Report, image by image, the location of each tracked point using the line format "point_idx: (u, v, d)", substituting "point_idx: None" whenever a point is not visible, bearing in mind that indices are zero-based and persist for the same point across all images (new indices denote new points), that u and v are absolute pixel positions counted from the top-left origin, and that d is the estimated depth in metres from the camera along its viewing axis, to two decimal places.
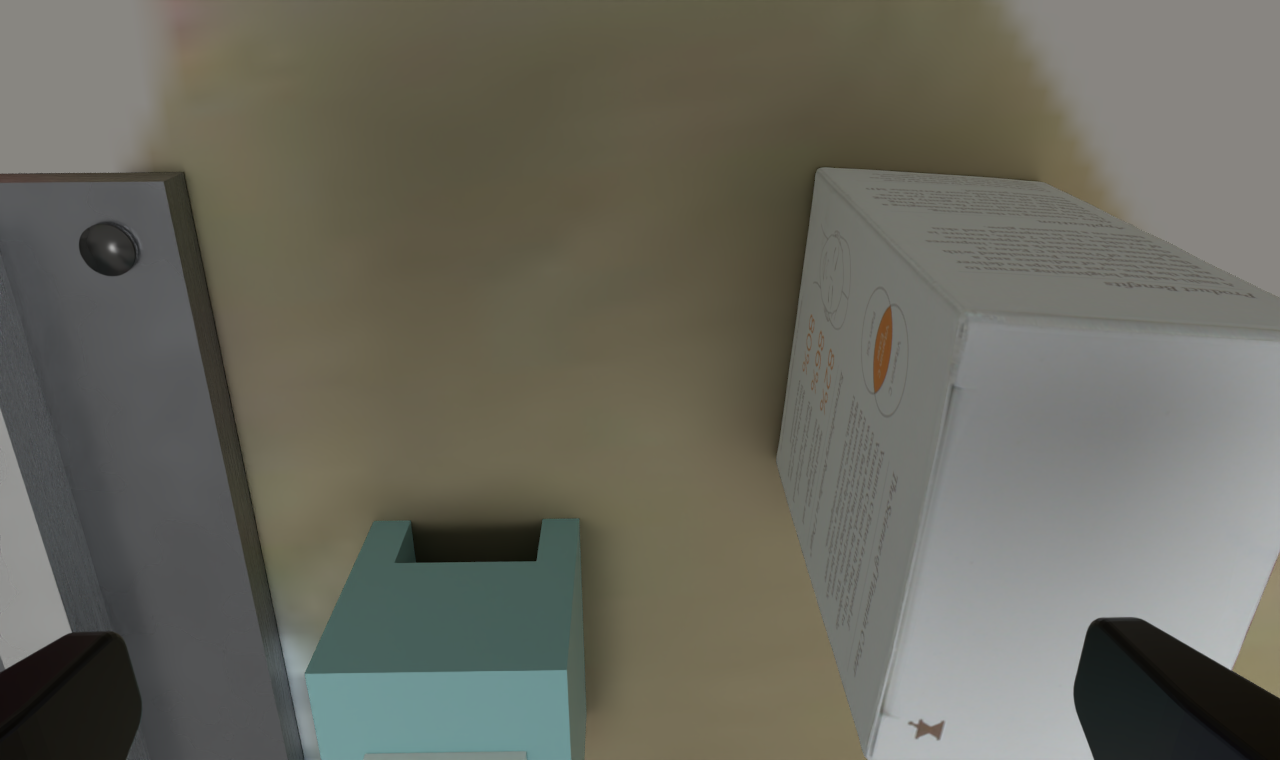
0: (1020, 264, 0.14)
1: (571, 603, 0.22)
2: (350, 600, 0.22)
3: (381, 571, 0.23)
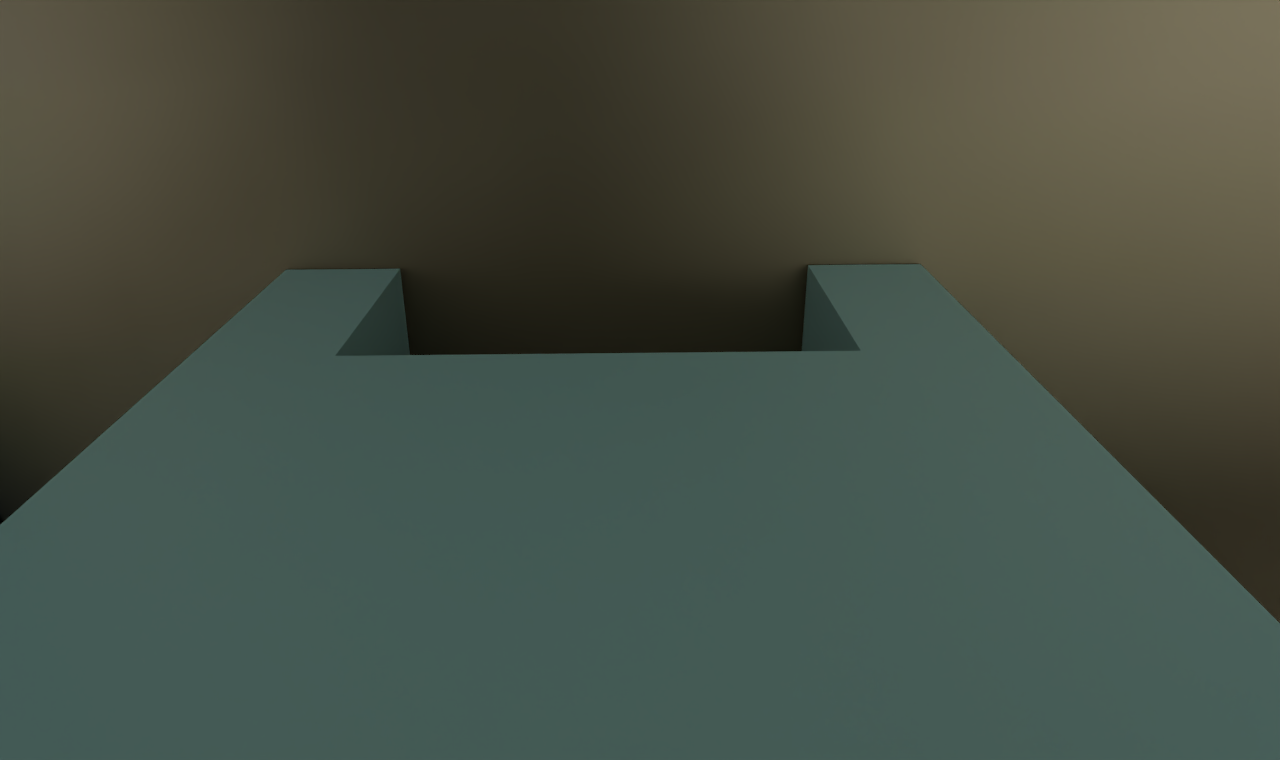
0: None
1: (1125, 476, 0.05)
2: (123, 465, 0.05)
3: (283, 377, 0.06)
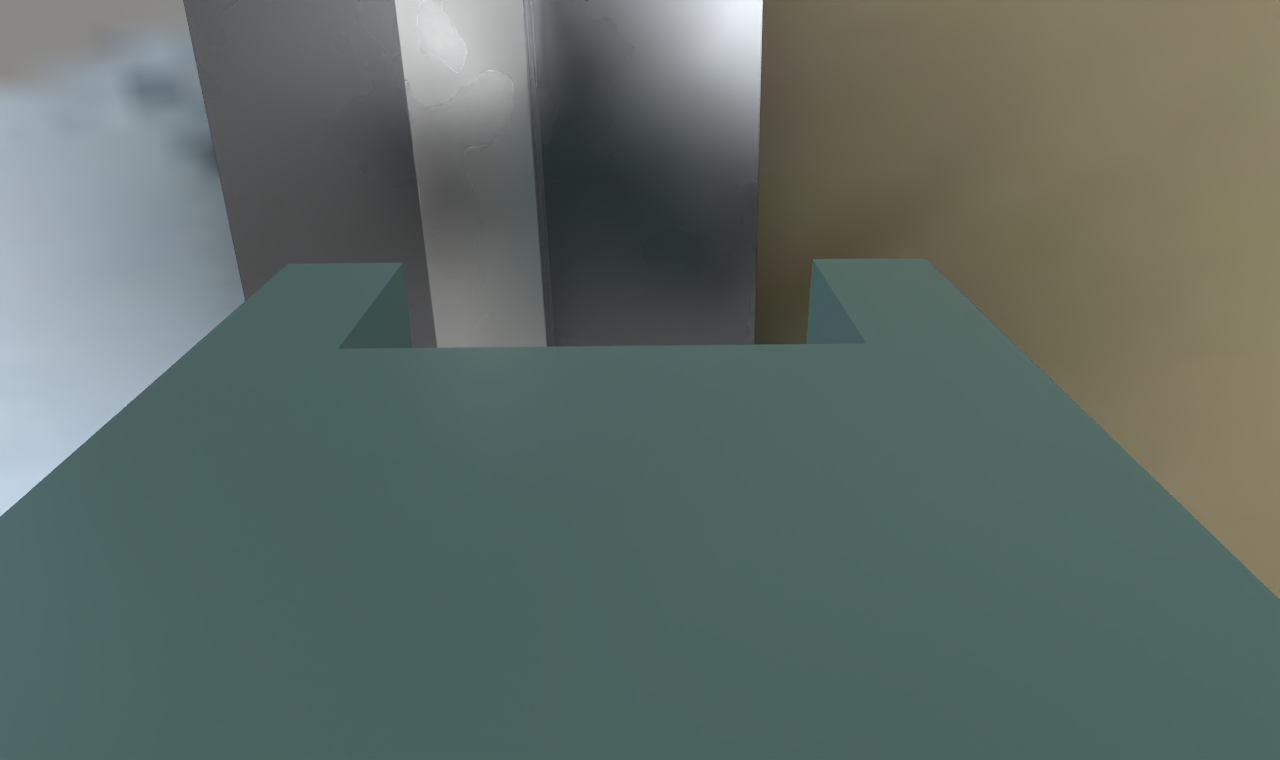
0: None
1: (1135, 467, 0.05)
2: (125, 456, 0.05)
3: (286, 369, 0.06)
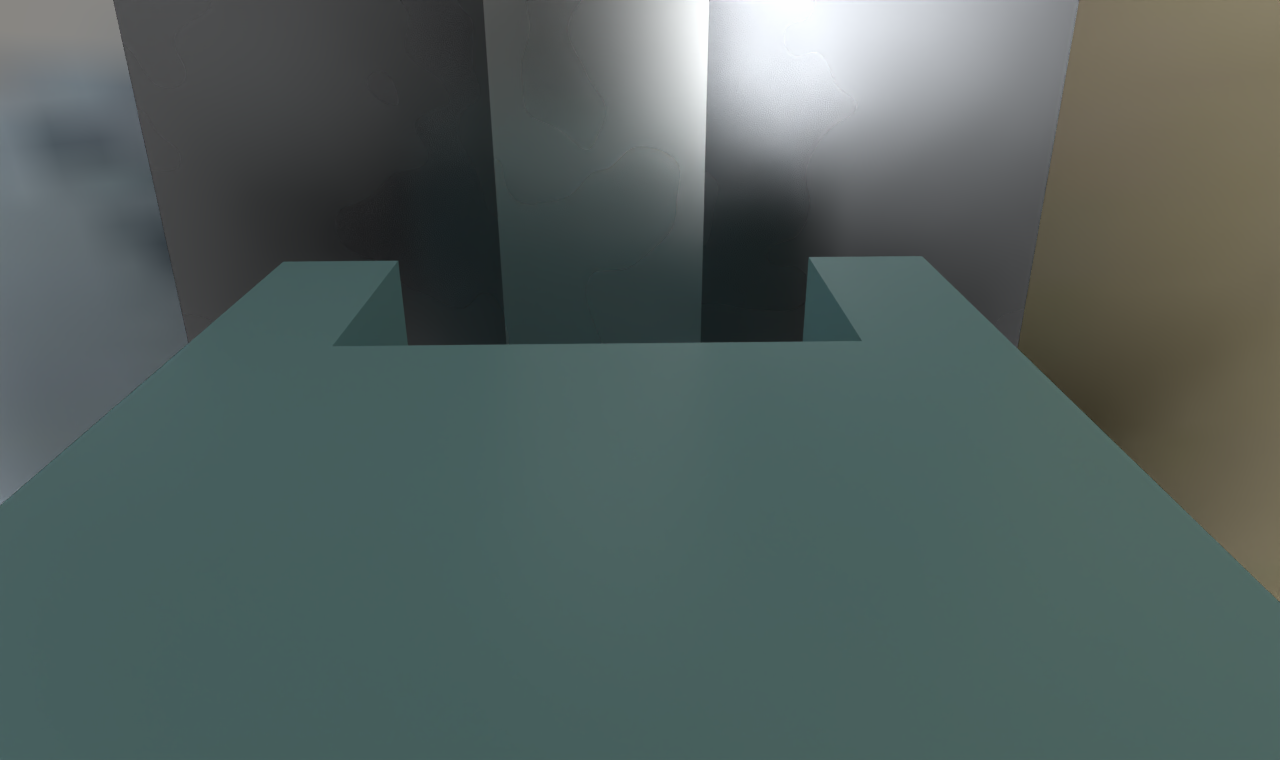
0: None
1: (1130, 464, 0.05)
2: (116, 454, 0.05)
3: (279, 367, 0.06)
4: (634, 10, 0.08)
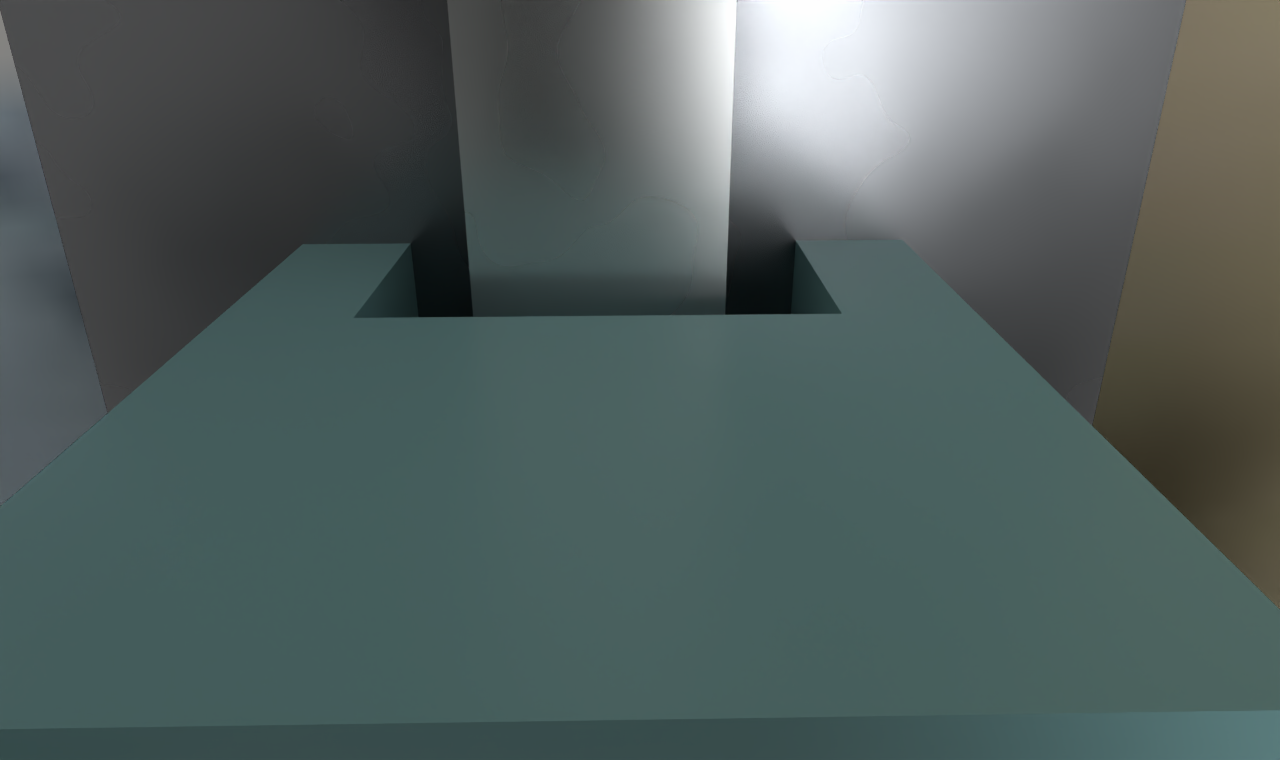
0: None
1: (1077, 417, 0.05)
2: (165, 408, 0.05)
3: (306, 335, 0.06)
4: (641, 27, 0.06)
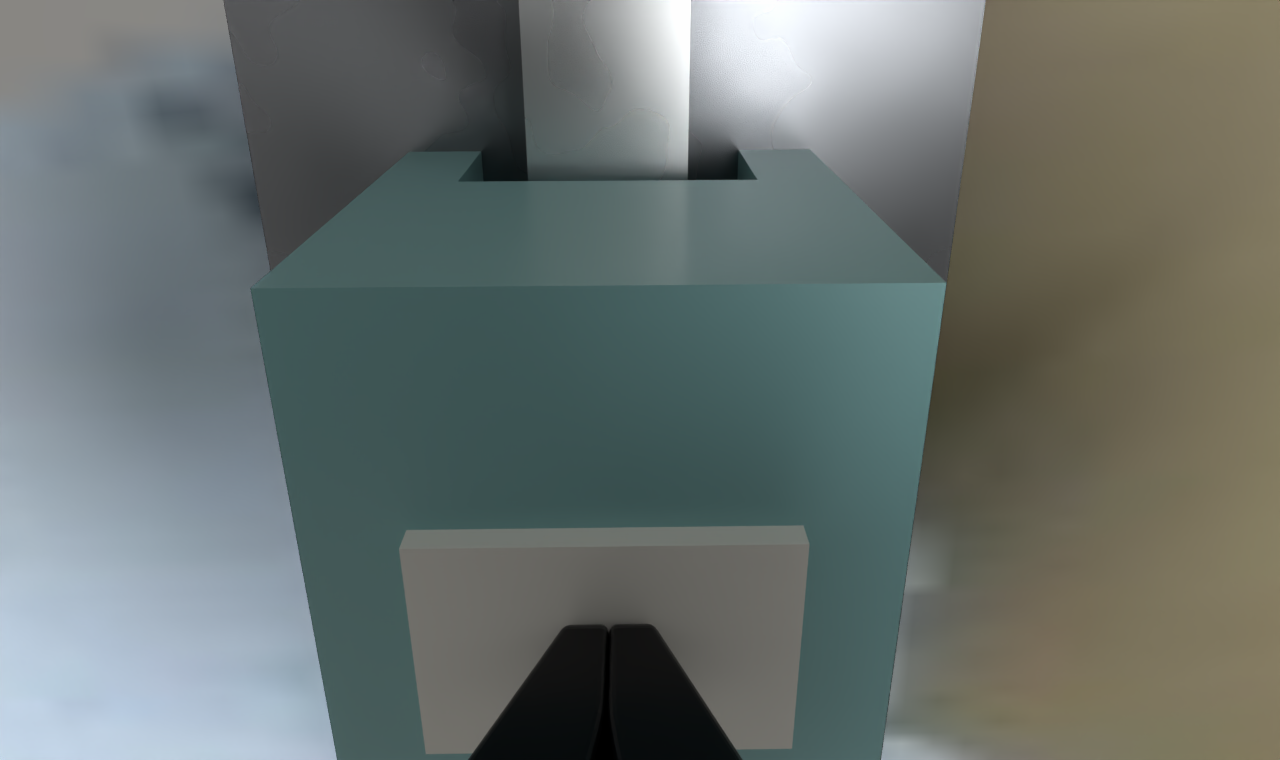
0: None
1: (873, 215, 0.10)
2: (367, 212, 0.10)
3: (432, 188, 0.11)
4: (633, 2, 0.11)
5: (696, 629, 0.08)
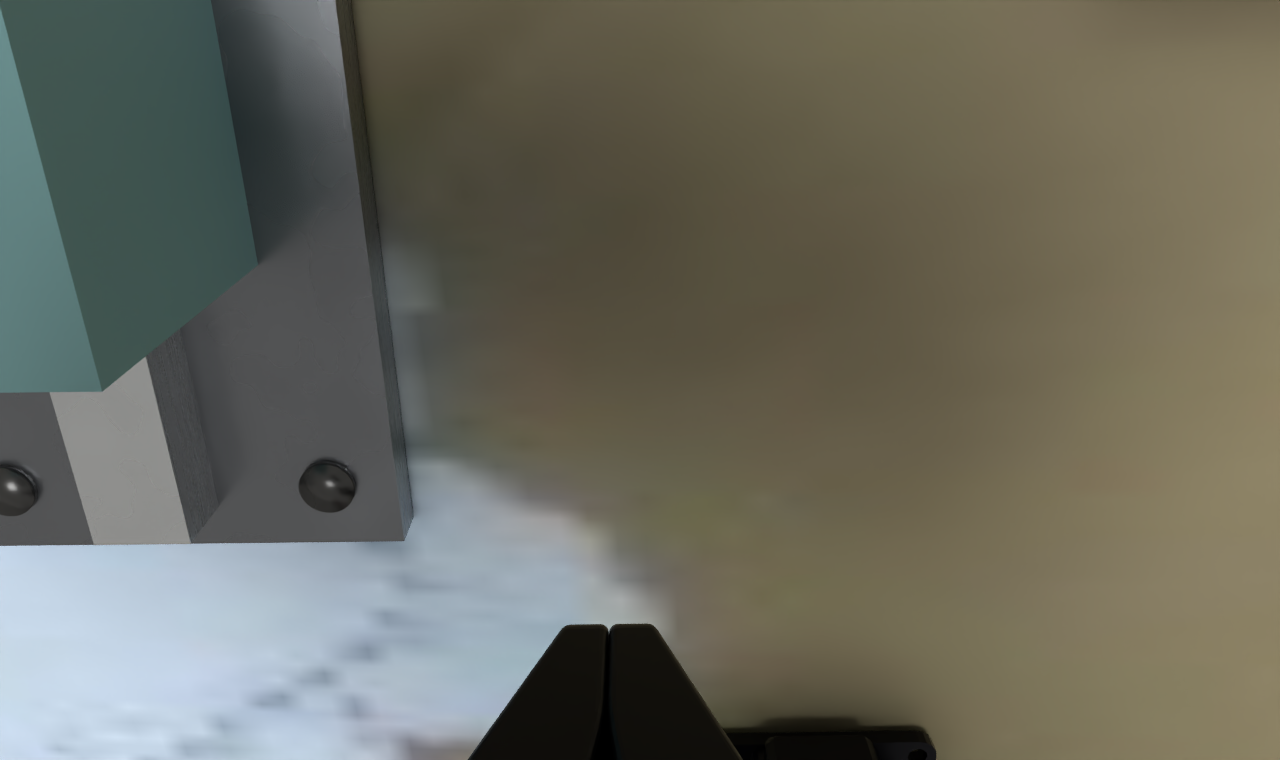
0: None
1: None
2: None
3: None
4: None
5: None
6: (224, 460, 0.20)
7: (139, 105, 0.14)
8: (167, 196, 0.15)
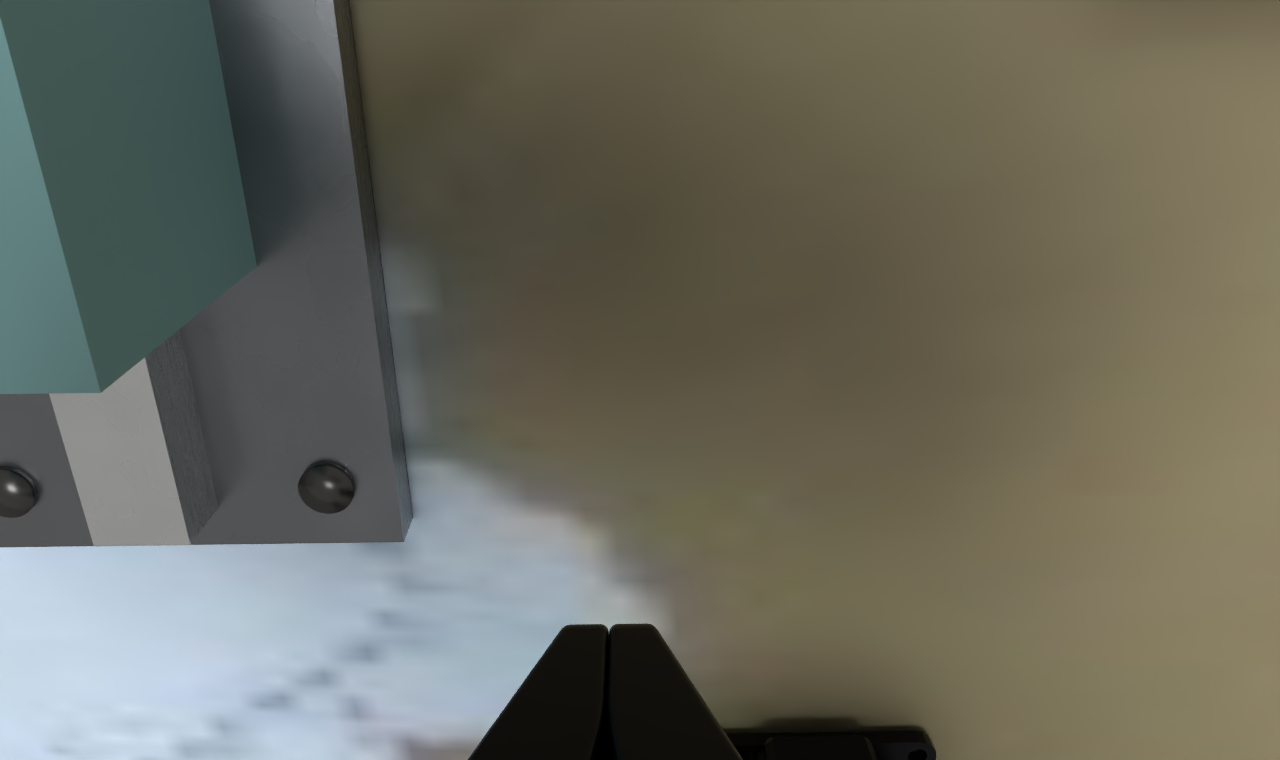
0: None
1: None
2: None
3: None
4: None
5: None
6: (224, 461, 0.20)
7: (138, 107, 0.14)
8: (166, 198, 0.15)
